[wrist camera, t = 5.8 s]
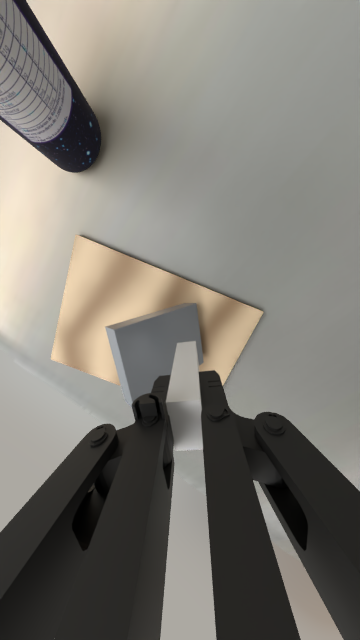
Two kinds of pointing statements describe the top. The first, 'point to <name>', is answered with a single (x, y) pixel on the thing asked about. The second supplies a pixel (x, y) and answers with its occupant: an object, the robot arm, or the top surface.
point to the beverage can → (43, 93)
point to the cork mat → (139, 310)
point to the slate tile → (151, 346)
